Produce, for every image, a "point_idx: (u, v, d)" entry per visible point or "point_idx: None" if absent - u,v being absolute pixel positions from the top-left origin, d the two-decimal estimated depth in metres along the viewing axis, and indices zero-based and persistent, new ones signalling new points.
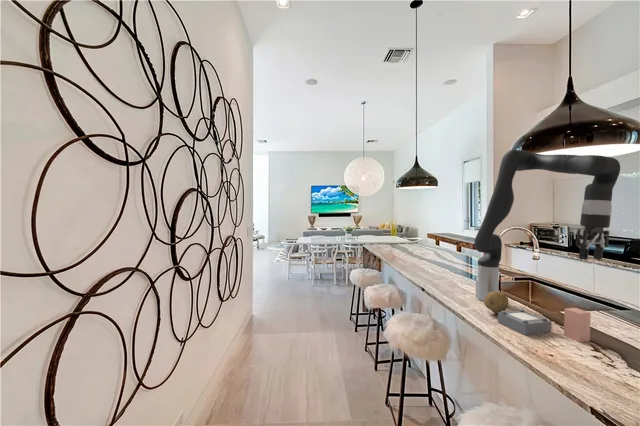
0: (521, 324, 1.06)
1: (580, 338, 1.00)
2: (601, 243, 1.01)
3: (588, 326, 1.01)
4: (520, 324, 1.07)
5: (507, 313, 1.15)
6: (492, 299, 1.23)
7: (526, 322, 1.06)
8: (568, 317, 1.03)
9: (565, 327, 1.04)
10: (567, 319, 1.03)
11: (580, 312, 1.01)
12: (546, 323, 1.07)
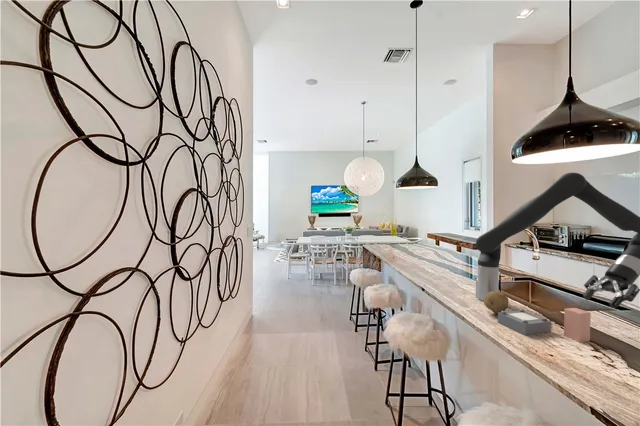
0: (521, 324, 1.06)
1: (580, 338, 1.00)
2: (600, 290, 1.07)
3: (588, 326, 1.01)
4: (520, 324, 1.07)
5: (507, 313, 1.15)
6: (492, 299, 1.23)
7: (526, 322, 1.06)
8: (568, 317, 1.03)
9: (565, 327, 1.04)
10: (567, 319, 1.03)
11: (580, 312, 1.01)
12: (546, 323, 1.07)
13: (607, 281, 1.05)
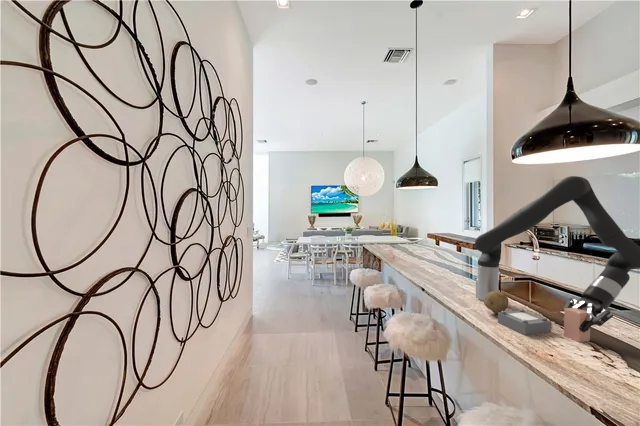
0: (521, 324, 1.06)
1: (580, 338, 1.00)
2: None
3: None
4: (520, 324, 1.07)
5: (507, 313, 1.15)
6: (492, 299, 1.23)
7: (526, 322, 1.06)
8: (568, 317, 1.03)
9: (565, 327, 1.04)
10: (567, 319, 1.03)
11: (580, 312, 1.01)
12: (546, 323, 1.07)
13: (584, 303, 1.04)
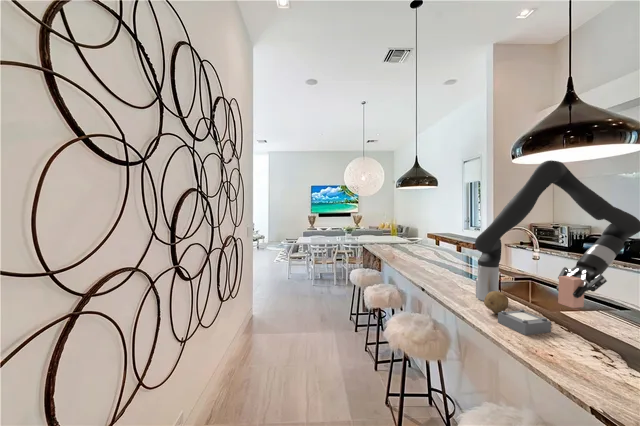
0: (521, 324, 1.06)
1: (574, 304, 1.01)
2: None
3: None
4: (520, 324, 1.07)
5: (507, 313, 1.15)
6: (492, 299, 1.23)
7: (526, 322, 1.06)
8: (562, 284, 1.04)
9: (559, 294, 1.05)
10: (561, 286, 1.04)
11: (574, 278, 1.02)
12: (546, 323, 1.07)
13: (578, 271, 1.05)
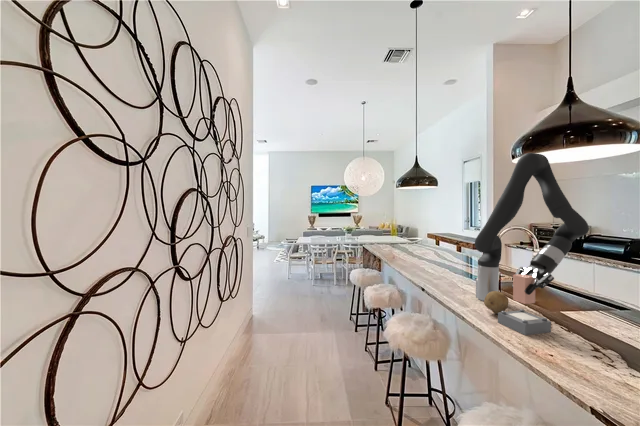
0: (521, 324, 1.06)
1: (526, 300, 1.09)
2: None
3: None
4: (520, 324, 1.07)
5: (507, 313, 1.15)
6: (492, 299, 1.23)
7: (526, 322, 1.06)
8: (516, 282, 1.12)
9: (514, 291, 1.13)
10: (515, 284, 1.12)
11: (526, 276, 1.10)
12: (546, 323, 1.07)
13: (531, 269, 1.13)
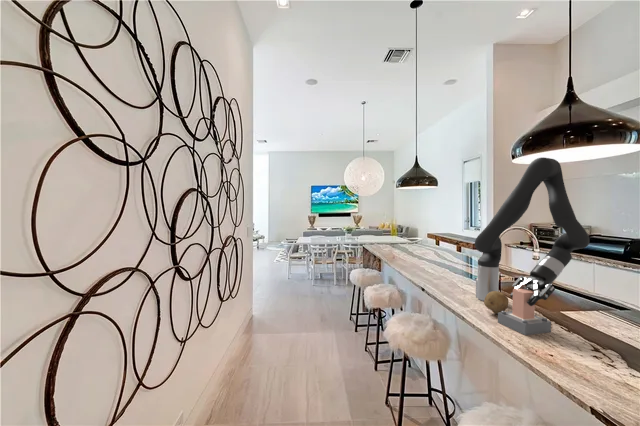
0: (521, 324, 1.06)
1: (524, 315, 1.09)
2: None
3: None
4: (520, 324, 1.07)
5: (507, 313, 1.15)
6: (492, 299, 1.23)
7: (526, 322, 1.06)
8: (515, 297, 1.13)
9: (513, 306, 1.14)
10: (514, 298, 1.13)
11: (525, 292, 1.10)
12: (546, 323, 1.07)
13: (530, 281, 1.13)
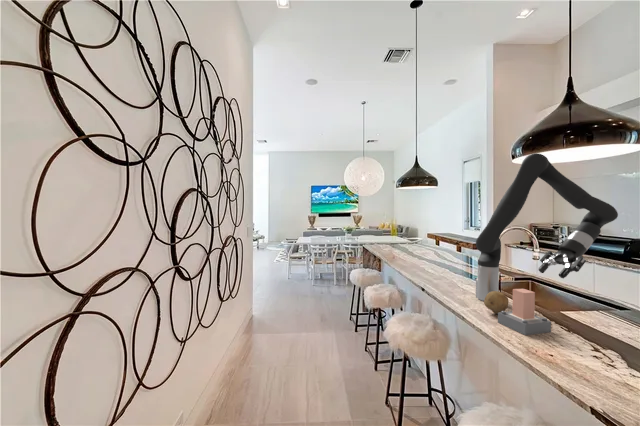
0: (521, 324, 1.06)
1: (524, 315, 1.09)
2: (554, 264, 1.17)
3: (532, 305, 1.10)
4: (520, 324, 1.07)
5: (507, 313, 1.15)
6: (492, 299, 1.23)
7: (526, 322, 1.06)
8: (515, 297, 1.13)
9: (513, 306, 1.14)
10: (514, 298, 1.13)
11: (525, 292, 1.10)
12: (546, 323, 1.07)
13: (559, 255, 1.15)
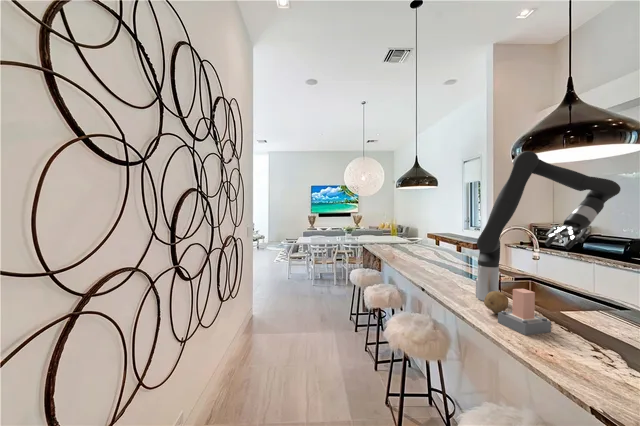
0: (521, 324, 1.06)
1: (524, 315, 1.09)
2: (559, 237, 1.22)
3: (532, 305, 1.10)
4: (520, 324, 1.07)
5: (507, 313, 1.15)
6: (492, 299, 1.23)
7: (526, 322, 1.06)
8: (515, 297, 1.13)
9: (513, 306, 1.14)
10: (514, 298, 1.13)
11: (525, 292, 1.10)
12: (546, 323, 1.07)
13: (564, 228, 1.20)
